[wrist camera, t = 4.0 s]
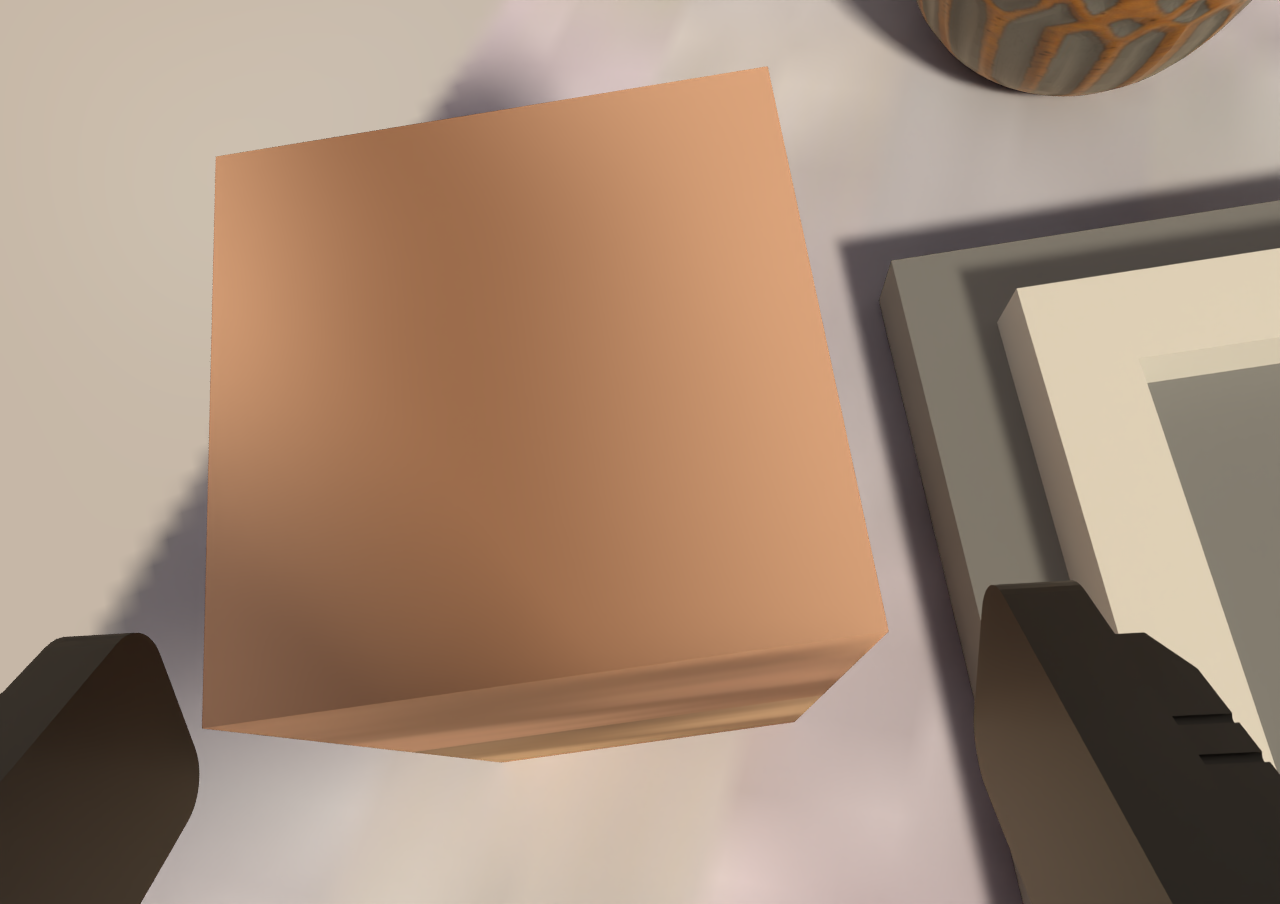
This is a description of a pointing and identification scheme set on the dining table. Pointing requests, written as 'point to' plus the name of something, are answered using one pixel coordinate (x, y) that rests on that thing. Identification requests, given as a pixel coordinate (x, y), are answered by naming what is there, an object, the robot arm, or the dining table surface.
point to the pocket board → (1110, 432)
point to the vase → (1074, 39)
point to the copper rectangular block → (527, 434)
